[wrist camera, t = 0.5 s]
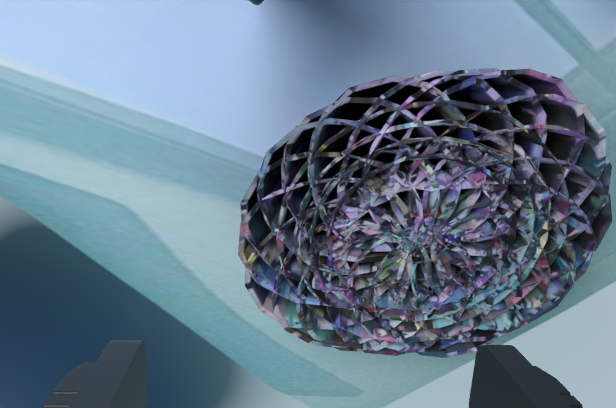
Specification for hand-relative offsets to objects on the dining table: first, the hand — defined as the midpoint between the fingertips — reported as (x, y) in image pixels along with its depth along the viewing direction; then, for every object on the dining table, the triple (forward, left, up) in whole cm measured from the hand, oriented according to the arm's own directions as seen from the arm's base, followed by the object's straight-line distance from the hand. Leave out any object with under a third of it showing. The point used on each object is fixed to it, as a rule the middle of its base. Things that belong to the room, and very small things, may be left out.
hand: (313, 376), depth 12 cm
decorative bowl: (+14, +4, -30) cm, 33 cm away
